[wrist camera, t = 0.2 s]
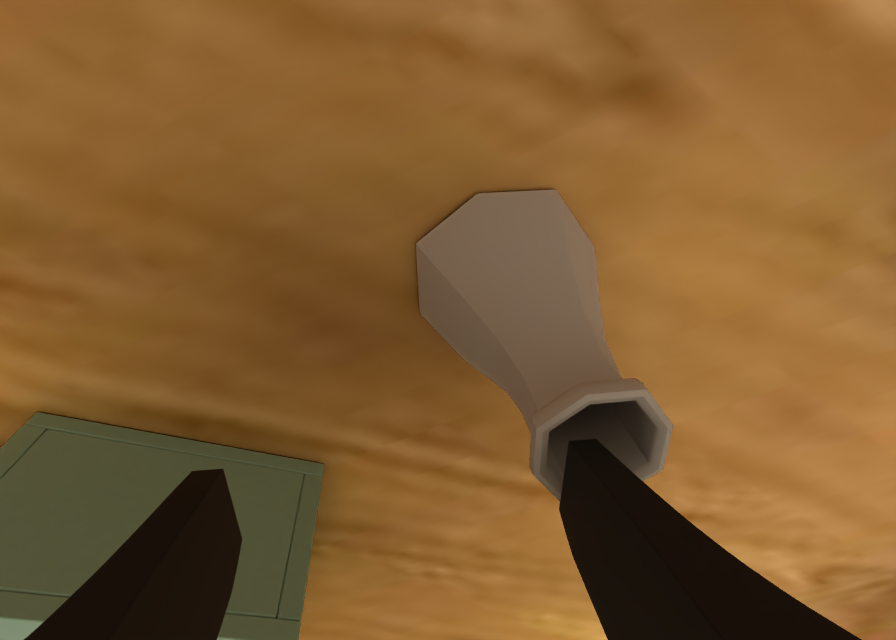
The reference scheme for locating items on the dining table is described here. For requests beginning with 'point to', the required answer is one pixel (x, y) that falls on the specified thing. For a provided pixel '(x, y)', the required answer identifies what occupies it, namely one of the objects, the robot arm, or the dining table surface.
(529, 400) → the flask
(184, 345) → the dining table surface
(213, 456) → the green drawer cabinet
